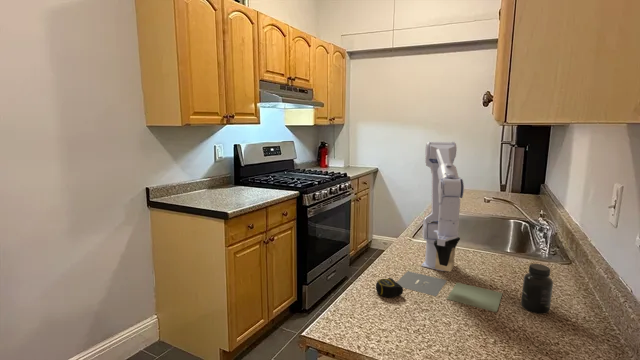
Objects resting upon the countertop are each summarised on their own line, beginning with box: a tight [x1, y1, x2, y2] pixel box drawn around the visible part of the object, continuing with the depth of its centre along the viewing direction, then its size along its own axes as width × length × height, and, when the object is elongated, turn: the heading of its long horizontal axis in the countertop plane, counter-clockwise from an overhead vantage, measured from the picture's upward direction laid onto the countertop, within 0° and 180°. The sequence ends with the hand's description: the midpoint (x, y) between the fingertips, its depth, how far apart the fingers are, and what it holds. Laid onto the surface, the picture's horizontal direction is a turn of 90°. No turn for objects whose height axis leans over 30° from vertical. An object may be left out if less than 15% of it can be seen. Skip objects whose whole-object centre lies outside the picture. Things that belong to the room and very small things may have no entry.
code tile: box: [395, 270, 447, 297], centre depth 113 cm, size 13×13×1 cm
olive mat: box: [446, 281, 503, 313], centre depth 104 cm, size 13×13×1 cm
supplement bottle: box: [520, 263, 554, 315], centre depth 97 cm, size 7×7×12 cm
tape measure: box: [375, 277, 404, 298], centre depth 105 cm, size 7×7×4 cm
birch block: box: [435, 248, 456, 272], centre depth 107 cm, size 4×4×6 cm
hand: (445, 262), depth 107 cm, fingers closed on birch block, 4 cm apart
